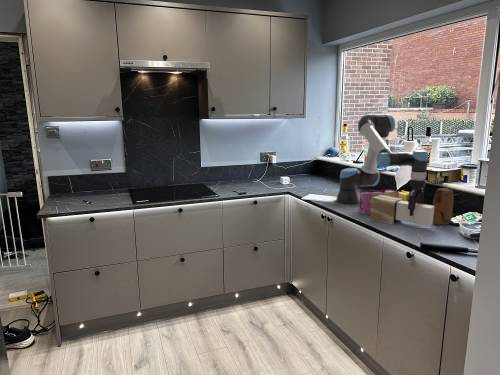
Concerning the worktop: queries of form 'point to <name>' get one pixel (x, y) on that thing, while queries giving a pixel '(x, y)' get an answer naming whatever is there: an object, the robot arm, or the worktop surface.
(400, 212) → the block
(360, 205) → the gum box
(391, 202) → the tan wooden box
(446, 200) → the block
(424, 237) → the worktop surface
